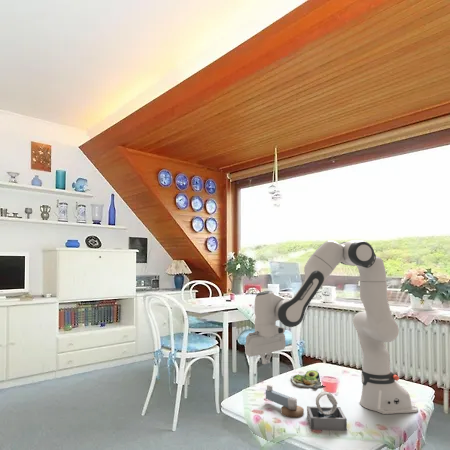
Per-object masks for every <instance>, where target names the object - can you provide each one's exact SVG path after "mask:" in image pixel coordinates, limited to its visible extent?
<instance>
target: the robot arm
mask: <svg viewBox="0 0 450 450" xmlns="http://www.w3.org/2000/svg"><path fill="white" fill-rule="evenodd" d="M339 264H342V265H346V266H350V267H351V266H353V267H356V268H357V269H358V273H359V297H360V301H361V303H362V305H363V308H364V310H363V311H359V312H357V313H355V315H354V316H353V319H352V320H353V321H352V322H353V323H352V324H353V327H354V328H355V330H356V333H357V337H358V340H359V345H360V350H361V359H362V369H361V383H362V387H361V389H362V390H361V397H360V400H359V403H360V404H359V405H360V406H361V407H363V408H366V409H368V410H371V411H374V412H378V413H380V414H382V415H390V414H392V415H394V414H409V413H418V406H417V405H416V403H414V402H413V401H412V400H411V396H410V394H409V392H408V391H407V390H406V389H405V388H404V387H403V386H402V385H400V384H399V382H398V381H399V380H400V377H399V376H398V375H397V374H395V373H393V372H392V371H391V365H390V364H391V363H390V361H391V360H390V352H389V350H388V348H387V346H386V344H385V343H391V342H393V341H395V340H396V339H397V337H398V336H399V330H400V329H399V325H398V324H397V322H396V321H395V319H394V317H393V314H392V311H391V308H390V305H389V300H388V289H387V288H388V286H387V274H386V273H387V272H386V267H385V264H384V260H383V259H382V258H381V257H380V256H377V254H376V252H375V251H374V248H373V246H372V245H371V244H370V243H369V242H367V241H365V240H361V239H359V240H348V241H343V242H340V243H339V242H337V241H335V240H330V239H329V240H326V241H324V242H323V243H322V244H321V245H320V246H319V247H318V248H317V249H316V250H315V251H314V252H313V253H312V254H311V256H309V258H308V260H307V262H306V263H305V264H304V267H303V271H304V276H305V278H304V282H303V283H302V285H301V287H300V288H299V289H298V291H296V294H295V295H294V296H293V297H292V298H291V299H289V298H287V297H286V298H285V297H283V296H280V295H279V294H276V293H275V292H274V291H272V290H266V291H265V290H264V291H261V292H259V293H257V294H256V295H255V298H254V315H255V316H254V317H255V320H254V332H253V331H252V332H248V334H247V336H246V337H245V346H244V348H245V350H244V354H245V355H246V356H247V357H251V358H252V357H255V356H256V357H257V356H259V358H260V359H261V363H262V365H267V364H270V363H271V357H272V355H273V352H278V351H283V350H285V348H286V335H285V331H286V330H285V329H286V328H285V327H282V326H279V325H277V324H276V322H278V321H280V323H281V324H282V325H283V326H286V327H288V328H294V327H297V326H298V325H300V324H301V323H302V322H303V320H304V318H305V312H306V311H307V307H308V306H309V305H310V303H311V302H312V301H313V299H314V297H315V296H316V294H317V292H318V291H319V290H320V288H321V286H322V285H323V284H324V283H325V281H326V280H327V279H328V278H329V276H330V275H331V274H332V273H333V272H334V270H335V269H336V267H337V266H338V265H339Z"/></svg>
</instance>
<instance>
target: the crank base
mask: <svg viewBox="0 0 450 450" xmlns="http://www.w3.org/2000/svg"><path fill="white" fill-rule="evenodd" d="M280 409H281V412H282V413H281V414H282V415H283V416H284V415H285V417H287V418H300V417H302V416H303V417H304V413H305V412H304V411H305V410H304V408H303V407H302V406H300V405H297V409H296V410H290V409H288V408H287V407H285V406H282V407H281V408H280Z"/></svg>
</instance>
